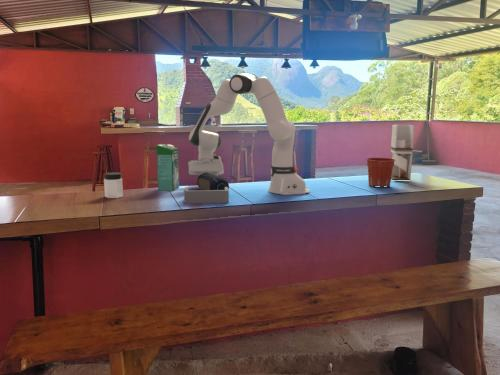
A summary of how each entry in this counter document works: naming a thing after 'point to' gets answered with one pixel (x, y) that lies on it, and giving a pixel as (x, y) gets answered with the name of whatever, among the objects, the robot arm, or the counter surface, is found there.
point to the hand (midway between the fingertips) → (206, 179)
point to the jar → (113, 185)
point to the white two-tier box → (402, 151)
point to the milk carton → (167, 167)
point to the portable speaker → (211, 182)
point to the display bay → (206, 196)
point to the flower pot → (380, 171)
